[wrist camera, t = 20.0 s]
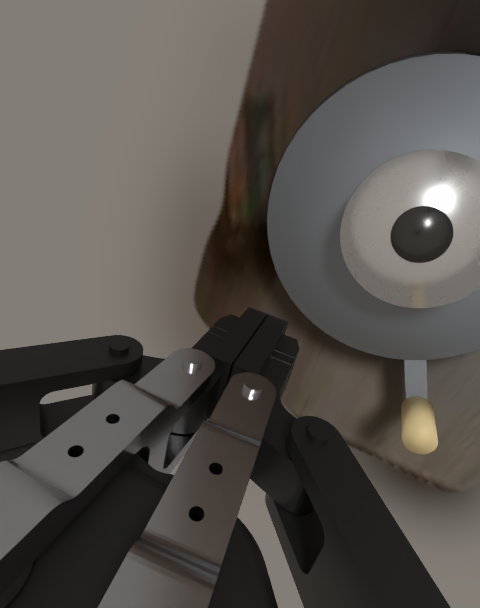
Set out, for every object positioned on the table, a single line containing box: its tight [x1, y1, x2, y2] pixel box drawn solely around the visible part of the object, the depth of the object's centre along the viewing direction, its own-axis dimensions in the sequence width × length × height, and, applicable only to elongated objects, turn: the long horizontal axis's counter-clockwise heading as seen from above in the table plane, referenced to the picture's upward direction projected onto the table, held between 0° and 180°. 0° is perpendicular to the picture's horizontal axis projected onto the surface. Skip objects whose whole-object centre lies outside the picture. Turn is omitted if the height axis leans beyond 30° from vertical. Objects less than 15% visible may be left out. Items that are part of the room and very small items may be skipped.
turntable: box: [267, 54, 480, 454], centre depth 27 cm, size 26×21×6 cm
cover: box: [340, 149, 480, 308], centre depth 26 cm, size 10×10×3 cm
